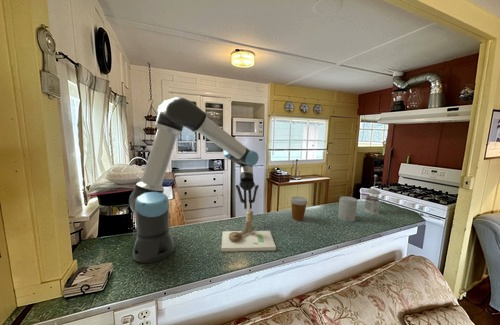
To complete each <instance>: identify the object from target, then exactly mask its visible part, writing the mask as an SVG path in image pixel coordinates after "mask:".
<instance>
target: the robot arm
mask: <svg viewBox="0 0 500 325" xmlns="http://www.w3.org/2000/svg"><path fill="white" fill-rule="evenodd" d="M155 120H156V121H155V122H154V123H155V124H154V125H155V127H156V129H157V130H156V133H155V135H154V140H153V143H152V145H151V149H150V152H149V155H148V159H147V162H146V164H145V165H146V166H145V168H144V172H143V175H142V177H141V180H140V181H138V182H136V184H135V187H134V190H133V191H132V192H131V194H130V195H129V198H128V205H129V208H130V210H131V211H132V214H133V215H134V217H135V222H136V239H135V243H134V246H133V250H132V258H133V259H134V261H135V262H138V263H140V264H153V263H157V262H159V261H162V259H163V260H165V259H166V257H167V258H168V257H170V256H171V255H172V254H173V252H174V250H175V241H174V239H173V237H172V234H171V231H170V202H169V197H168V196H167V195H166V194H165V193H164V190H165V188H164V186H163V182H164V179H165V177H166V172H167V170H168V165H169V163H170V160H171V156H172V154H173V150H174V147H175V143H176V140H177V137H178V135H180V134H182V132H183V130H184V129H183V128H187V129H188V130H190V131H192V132H194V133H196V132H197V133H198V134H200V135H202V136H203V137H205V138H206V139H207V140H209V141H210V142H212V143H213V144H215V145H217V147H219V148H221V149H223V154H222V155H223V156H224V158H226V159H227V160H229V161H231V162H233V163H234V164H236V165H238V166H239V175H240V176H239V177H240V178H239V180H240V181H239V184H236V185H235V189H236V191H237V193H238V196H239V197H238V198H239V201H240V203H241V204H243V206H244V207H243V208H244V210H246V211H248V210H250V211H251V210H252V207H253V206H252V205H253V204H254V203H255V201H256V196H257V192H258V190H259V184H256V183H255V182H254V179H255V178H254V168H253V166H255V165H256V164H257V163H258V162H259V153H258V152H256V151H254V150H251V149H249V148H248V147H246V146H245V145H243V143H241V142H240V141H238V139H236V138H235V137H233V136H232V135H231V134H229V133H228V132H227V131H225V130H224V129H223V128H222V127H220V125H218V124H217V123H215V122H214V121H213V120H212V119H210V118H209V117H208V114H207V113H206V112H205V111H204V110H203V109H202V108H200V107H199V106H197V105H196V104H195V103H193V102H192V101H190V100H189V99H187V98H185V97H180V96H178V97H173V98H170V99H165V100H163V101H162V102H161V103H160V104H159V105H158V106H157V109H156V119H155ZM241 189H242V190H243V194H242V191H241ZM252 189H254V191H253V194H252ZM247 191H248V192H247ZM247 193H248V199H247ZM247 200H248V201H247ZM169 255H170V256H169Z"/></svg>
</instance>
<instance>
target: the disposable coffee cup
mask: <svg viewBox="0 0 500 325" xmlns="http://www.w3.org/2000/svg"><path fill="white" fill-rule="evenodd" d="M290 202H291V217H292V220H294V221H297V222H301V221H303V220H304V218H305V217H304V216H305V214H306V213H305V212H306V209H307V205H308V200H307V198H305V197H302V196H293V197H291V199H290Z"/></svg>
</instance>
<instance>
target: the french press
mask: <svg viewBox="0 0 500 325" xmlns="http://www.w3.org/2000/svg"><path fill="white" fill-rule="evenodd" d="M373 177H374V179H376V178H378V175H377V174H374V175H373ZM373 182H374V184H373V186H375V185H376V181H373ZM366 192H367V193H368V194H372V195H367V196H366V198H365V203H364V208H363V209H362V210H364V211H365V212H364V211H363V212H364V213H366V212H367V213H366V214H368V213H371V214H370V215H373V214H378V213H379V214H380V211H379V207H380V206H381V204H382V203H381V202H380V201H382V198H381V196H380V194H381V191H380V190H378V189H376V188H369V189H366ZM374 195H375V196H374ZM376 195H378V196H376ZM379 214H378V215H379Z"/></svg>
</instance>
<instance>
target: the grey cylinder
mask: <svg viewBox="0 0 500 325" xmlns="http://www.w3.org/2000/svg"><path fill="white" fill-rule="evenodd" d="M357 206H358V199H357V198H355V197H353V196H347V195H342V196H341V195H340V196H339V202H338V211H337V219H339V218H340V219H341V221H343V220H344V222H347V221H348V222H347V223H352V222H353V221H354V222H355V221H356V214H357ZM340 219H339V220H340Z"/></svg>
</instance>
